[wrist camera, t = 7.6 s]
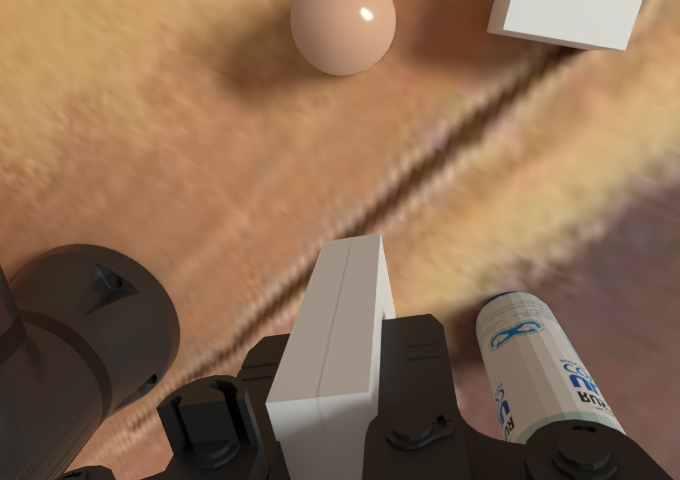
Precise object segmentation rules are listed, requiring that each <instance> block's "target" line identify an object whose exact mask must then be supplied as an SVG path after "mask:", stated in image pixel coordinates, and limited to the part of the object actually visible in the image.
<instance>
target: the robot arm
mask: <svg viewBox="0 0 680 480" xmlns="http://www.w3.org/2000/svg"><path fill="white" fill-rule="evenodd" d="M179 342H180V328H179V321H178V317H177V314H176V311H175V308H174V306H173V303H172V301H171V299H170V297H169V296H168V294H167V292H166V291H165V289H164V288H163V287H162V285H161V284H160V283H159V282H158V280H157V279H156V278H155V277H154V276H153V275H152V274H151V273H150V272H149V271H148V270H146V269H145V268H144V267H143V266H141V265H140V264H139V263H137V262H136V261H134V260H133V259H131V258H129V257H127V256H126V255H123V254H121V253H119V252H117V251H114V250H111V249H108V248H105V247H101V246H96V245H88V244H74V245H67V246H62V247H59V248H56V249H53V250H51V251H49V252H47V253H45V254H43V255H42V256H40V257H38V258H37V259H35V260H33V261H32V262H30V263H28V264H27V265H26V266H24V267H23V268H22V269H21V270H20V271H19V272H18V273H17V274H16V275H15V276H14V278H13V279H12V280H11V282H10V283H9V285H8V283H7V280H6V278H5V275H4V273H3V270H2V268H1V265H0V480H116V479H115V477H114V475H113V473H112V471H111V469H108V468H106V467H103V466H101V465H98V466H85V467H82V468H78V469H75V470H72V471H69V472H67V473H64V472H65V471H66V470H67V468H68V467H69V466H70V464H71V463H72V462H73V460H74V459H75V458H76V456H77V455H78V454H79V452H80V451H81V450H82V448H83V447H84V446H85V445H86V443H87V442H88V441H89V439H90V438H91V437H92V435H93V434H94V432H95V431H96V430H97V429H98V427H99V426H100V425H101V424H102V422H103V421H104V420H105V419H107V418H109V417H110V416H112V415H114V414H115V413H117V412H118V411H120V410H122V409H123V408H125V407H127V406H128V405H130V404H132V403H133V402H135V401H137V400H138V399H140V398H142V397H143V396H145V395H146V394H148V393H149V392H150V391H151V390H152V389H153V388H154V387H155V386H156V385H157V384H158V383H159V382H160V381H161V379H162V378H163V377H164V375H165V374H166V372H167V371H168V370H169V368H170V367H171V365H172V364H173V362H174V360H175V358H176V355H177V352H178V348H179ZM241 368H242V370H240V371H239V373H238V375H237V377H236V378H235V377H233V376H230V375H214V376H210V377H205V378H201V379H197V380H195V381H193V382H191V383H188V384H186V385H184V386H181V387H180V388H179V389H177V390H176V391H174V392H173V393H171V394H170V395H168V396H167V397H166V398H165V399H164V400H163V401H162V402H161V403H160V405H159V406H158V407H157V408H156V409H157V411H158V414H159V417H160V419H161V422H162V425H163V427H164V430H165V432H166V435H167V438H168V440H169V443H170V446H171V448H172V451H173V453H174V455H173V457H172V459H171V460H170V462H169V464H168V466H167V468H166V470H165V471H163V472H161V473H158V474H156V475H153V476H150V477H147V478H144V479H141V480H673V479H672V478H671V477H670V476H669V475H668V474H667V473H666V472H665V471H664V470H663V469H662V468H661V467H660V466H659V465H658V464H657V463H656V462H655V461H654V460H653V459H652V458H651V457H650V456H649V455H648V454H647V453H646V452H645V451H644V450H643V449H642V448H641V447H640V446H639V445H638V444H637V443H636V442H634V441H633V440H632V439H630V438H629V437H627V436H626V435H625V434H623V433H622V432H621V431H619V430H617V429H614V428H612V427H609V426H607V425H604V424H601V423H599V422H594V421H586V420H579V419H570V420H561V421H554V422H551V423H549V424H547V425H545V426H542V427H540V428H538V429H537V430H536V431H535V432H534V433H533V434H532V435H531V436H530V437H529V439H528V440H527V441H526V444H520V443H513V442H507V441H503V440H498V439H494V438H491V437H488V436H486V435H484V434H482V433H479V432H478V431H476V430H475V429H474V428H472V427H471V426H469V425H468V424H467V423H466V421H465V420H464V419H463V418H462V416H461V414H460V412H459V409H458V406H457V400H456V394H455V389H454V383H453V378H452V372H451V366H450V361H449V356H448V350H447V344H446V339H445V333H444V327H443V325H442V324H441V323H440V322H439V321H438V320H437V319H436V318H435V317H433V316H432V315H431V314H425V315H417V316H409V317H401V318H396V315H395V310H394V304H393V299H392V293H391V288H390V282H389V277H388V272H387V266H386V261H385V255H384V250H383V244H382V239H381V233H378V234H371V235H365V236H359V237H352V238H346V239H339V240H333V241H326V242H324V243H323V246H322V249H321V251H320V254H319V257H318V260H317V262H316V265H315V268H314V271H313V273H312V276H311V279H310V282H309V284H308V287H307V290H306V293H305V296H304V298H303V301H302V304H301V307H300V309H299V312H298V315H297V318H296V320H295V323H294V326H293V329H292V331H291V333H290V334H282V335H275V336H267V337H264V338H263V339H262V340H260V341H259V342H258V343H257V344H256V345H255V346H254V347H253V348H252V349H251V350H250V351H249V352H248V354H247V356H246V358H245V360H244V362H243V364H242V367H241Z"/></svg>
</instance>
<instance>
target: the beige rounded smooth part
mask: <svg viewBox="0 0 680 480" xmlns="http://www.w3.org/2000/svg"><path fill="white" fill-rule="evenodd" d="M290 25H291V32H292V36H293V39H294V42H295V44H296V46H297V48H298V50H299V51H300V53H301V54H302V56H303V57H304V58H305V59H306V60H307V61H308V62H309V63H310V64H311V65H312V66H314V67H315V68H317V69H319V70H320V71H322V72H325V73H327V74H332V75H338V76H347V75H353V74H356V73H360V72H362V71H364V70H366V69H368V68H370V67H372V66H373V65H375V64H376V63H378V62H379V61H380V60H381V59H383V57H384V56H385V55H386V54H387V53H388V51H389V50H390V48H391V46H392V44H393V41H394V39H395V35H396V29H397V18H396V12H395V8H394V5H393V1H392V0H293V2H292V6H291V12H290Z"/></svg>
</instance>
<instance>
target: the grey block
mask: <svg viewBox="0 0 680 480" xmlns="http://www.w3.org/2000/svg"><path fill="white" fill-rule="evenodd" d="M641 3H642V0H494V4H493V8H492V12H491V16H490V20H489V24H488V28H487V33H492V34H498V35H504V36H510V37H515V38H521V39H527V40H533V41H539V42H544V43H550V44H556V45H562V46H567V47H573V48H579V49H585V50H625V49H626V46H627V43H628V40H629V38H630V35H631V32H632V29H633V26H634V23H635V20H636V17H637V14H638V11H639V8H640V6H641Z"/></svg>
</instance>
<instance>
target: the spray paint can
mask: <svg viewBox="0 0 680 480" xmlns="http://www.w3.org/2000/svg"><path fill="white" fill-rule="evenodd" d="M476 335H477V339H478V342H479V346H480V350H481V354H482V358H483V361H484V365H485V369H486V373H487V376H488V380H489V384H490V388H491V391H492V395H493V399H494V403H495V406H496V410H497V414H498V418H499V422H500V425H501V429H502V433H503V437H504V440H505V441H507V442H513V443H520V444H526V441H527V440H528V439H529V437H530V436H531V435H532V434H533V433H534V432H535V431H536V430H537V429H538V428H540V427H542V426H545V425H547V424H549V423H551V422H554V421H561V420H570V419H579V420H586V421H594V422H599V423H601V424H604V425H607V426H609V427H612V428H614V429H617V430H619V431H621V432H622V433H623V434H625V432H624V431H623V429H622V427H621V426H620V424H619V422H618V421H617V419H616V417H615V416H614V414H613V412H612V411H611V409H610V408H609V406H608V404H607V403H606V401H605V399H604V398H603V396H602V394H601V393H600V391H599V389H598V388H597V386H596V384H595V383H594V381H593V380H592V378H591V376H590V375H589V373H588V371H587V370H586V368H585V366H584V365H583V363H582V361H581V360H580V358H579V356H578V355H577V353H576V352H575V350H574V348H573V347H572V345H571V343H570V342H569V340H568V338H567V337H566V335H565V333H564V332H563V330H562V328H561V327H560V325H559V323H558V322H557V320H556V319H555V317H554V315H553V314H552V312H551V310H550V309H549V308H548V306H547V305H546V304H545V303H544V302H542V301H541V300H540V299H539V298H537V297H536V296H533V295H531V294H528V293H523V292H507V293H504V294H501V295H498V296H496V297H494V298H493V299H491V300H489V301H488V302H487V303H486V304H485V305H484V306H483V308H482V309H481V311H480V313H479V314H478V318H477V322H476ZM625 435H626V434H625Z"/></svg>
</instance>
